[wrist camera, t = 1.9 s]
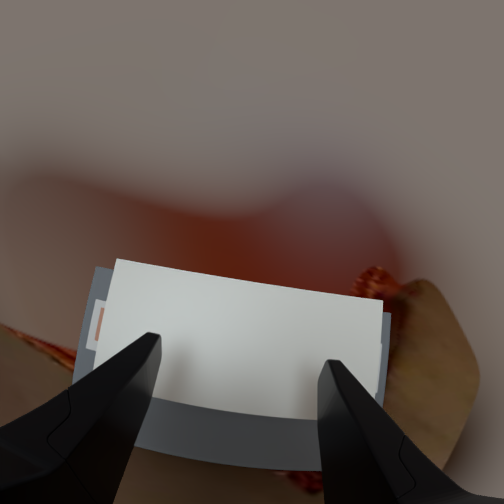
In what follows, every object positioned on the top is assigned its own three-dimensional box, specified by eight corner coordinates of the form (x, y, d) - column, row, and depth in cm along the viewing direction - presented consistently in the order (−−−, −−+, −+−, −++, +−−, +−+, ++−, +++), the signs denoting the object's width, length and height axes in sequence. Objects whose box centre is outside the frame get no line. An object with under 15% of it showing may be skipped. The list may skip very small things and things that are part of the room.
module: (324, 411, 18) (382, 434, 11) (140, 384, 18) (89, 394, 10) (336, 316, 20) (395, 286, 13) (158, 288, 20) (121, 242, 13)
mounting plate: (366, 465, 19) (394, 482, 15) (73, 422, 19) (43, 431, 14) (384, 315, 23) (415, 303, 19) (101, 270, 23) (76, 249, 18)
